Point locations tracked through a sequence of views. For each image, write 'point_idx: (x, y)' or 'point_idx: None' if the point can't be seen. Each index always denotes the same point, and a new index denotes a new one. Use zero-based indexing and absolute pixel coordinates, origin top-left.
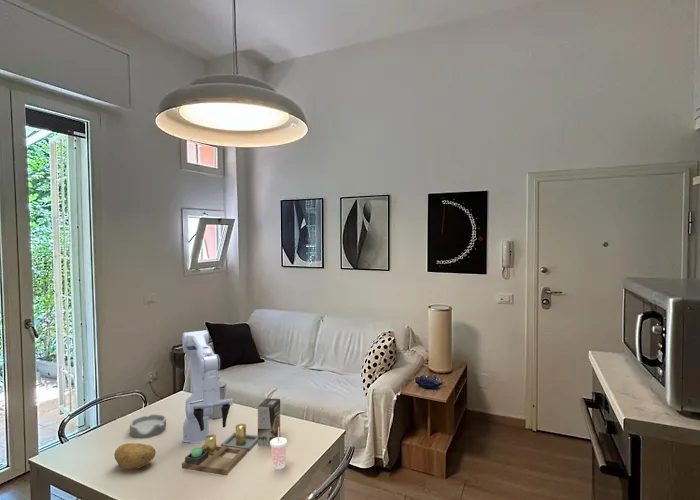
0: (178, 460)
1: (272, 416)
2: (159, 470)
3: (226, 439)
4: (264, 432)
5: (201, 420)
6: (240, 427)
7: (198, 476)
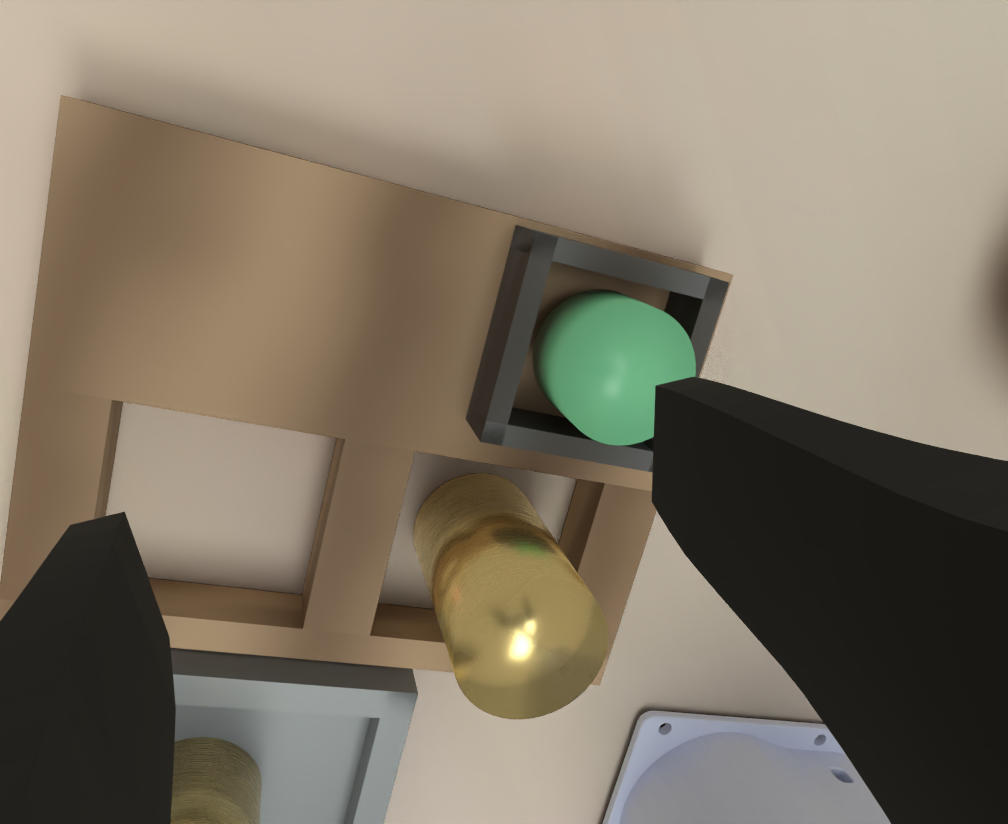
0: None
1: None
2: (908, 229)
3: (388, 803)
4: None
5: (837, 523)
6: None
7: (458, 98)
